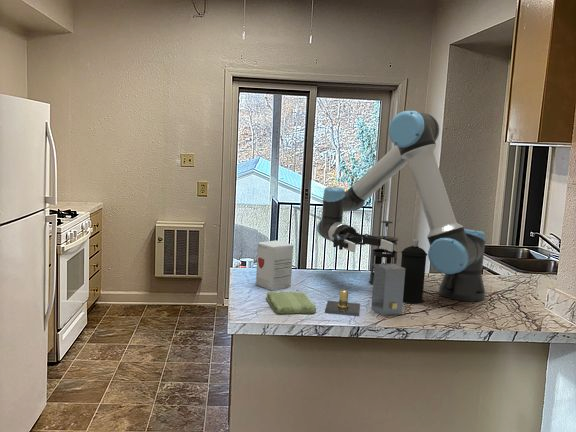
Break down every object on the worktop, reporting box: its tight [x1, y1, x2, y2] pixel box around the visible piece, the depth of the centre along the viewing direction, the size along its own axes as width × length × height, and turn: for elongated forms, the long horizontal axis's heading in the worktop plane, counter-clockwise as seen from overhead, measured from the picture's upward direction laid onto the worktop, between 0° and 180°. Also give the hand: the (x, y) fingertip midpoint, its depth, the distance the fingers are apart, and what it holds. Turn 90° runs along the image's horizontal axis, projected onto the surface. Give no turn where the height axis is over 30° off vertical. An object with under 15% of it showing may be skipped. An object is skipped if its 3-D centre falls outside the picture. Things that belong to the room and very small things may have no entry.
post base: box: [324, 289, 361, 317], centre depth 163 cm, size 10×10×6 cm
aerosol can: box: [400, 239, 428, 305], centre depth 175 cm, size 8×8×20 cm
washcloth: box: [265, 290, 317, 315], centre depth 164 cm, size 13×18×3 cm
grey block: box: [370, 262, 405, 317], centre depth 162 cm, size 9×7×14 cm
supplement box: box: [255, 240, 294, 292], centre depth 185 cm, size 9×9×15 cm
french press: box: [368, 220, 399, 286], centre depth 195 cm, size 12×9×23 cm
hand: (373, 247), depth 170 cm, fingers open, 13 cm apart
